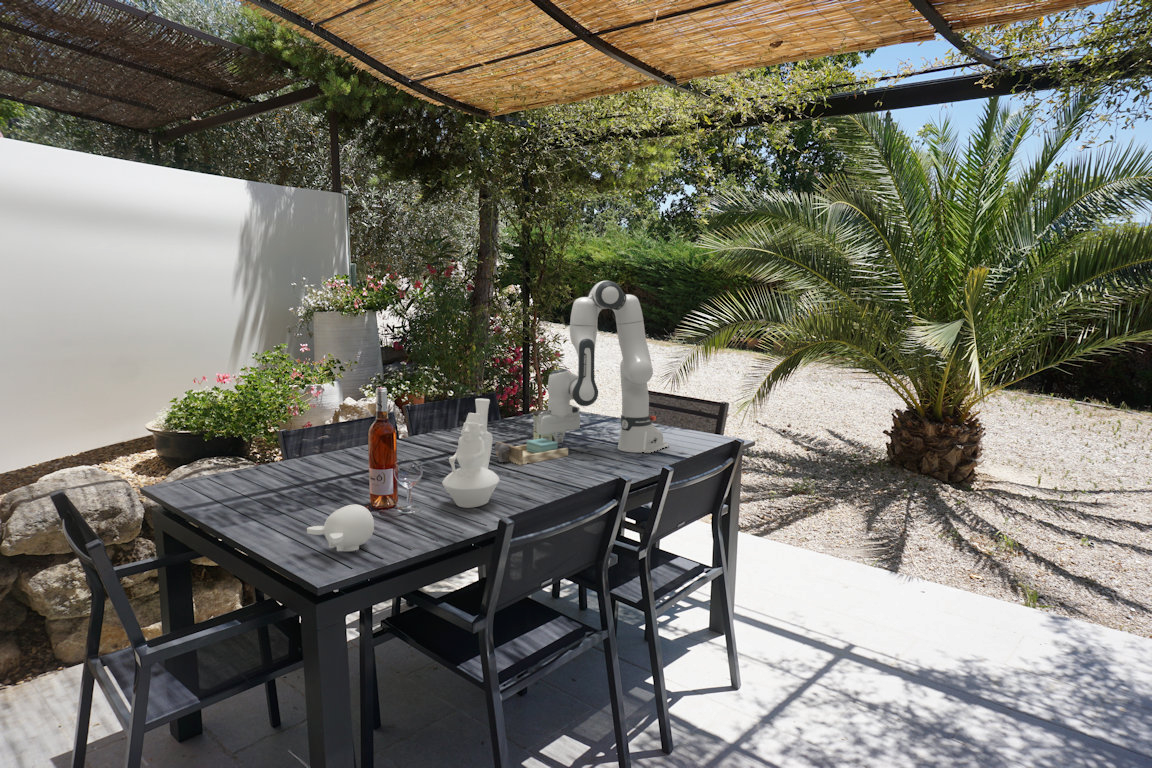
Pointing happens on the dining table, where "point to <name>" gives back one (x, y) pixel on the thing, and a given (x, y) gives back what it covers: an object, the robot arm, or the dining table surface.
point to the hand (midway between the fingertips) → (558, 442)
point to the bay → (525, 454)
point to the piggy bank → (346, 528)
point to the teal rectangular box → (541, 445)
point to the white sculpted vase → (473, 461)
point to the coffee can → (536, 435)
